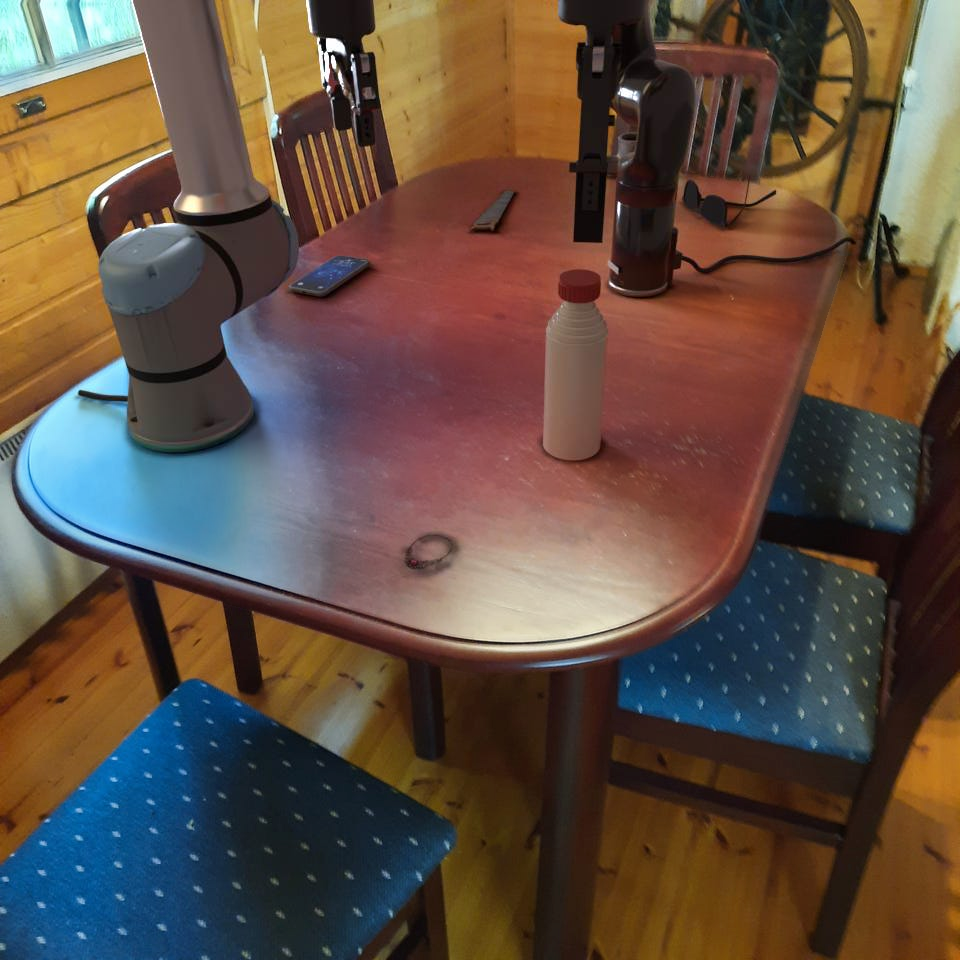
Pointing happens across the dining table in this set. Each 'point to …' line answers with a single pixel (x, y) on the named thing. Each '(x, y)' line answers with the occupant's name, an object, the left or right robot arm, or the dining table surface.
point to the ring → (414, 563)
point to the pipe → (621, 151)
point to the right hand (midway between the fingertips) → (354, 137)
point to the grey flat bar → (493, 213)
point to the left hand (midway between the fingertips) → (589, 216)
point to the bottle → (574, 381)
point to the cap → (579, 286)
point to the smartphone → (329, 275)
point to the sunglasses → (714, 204)
